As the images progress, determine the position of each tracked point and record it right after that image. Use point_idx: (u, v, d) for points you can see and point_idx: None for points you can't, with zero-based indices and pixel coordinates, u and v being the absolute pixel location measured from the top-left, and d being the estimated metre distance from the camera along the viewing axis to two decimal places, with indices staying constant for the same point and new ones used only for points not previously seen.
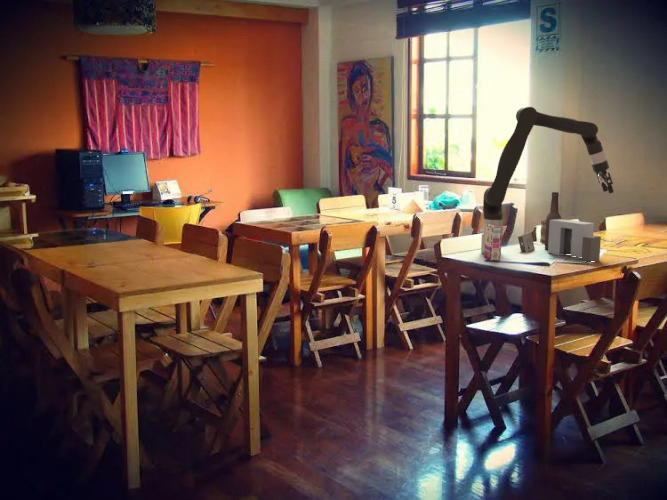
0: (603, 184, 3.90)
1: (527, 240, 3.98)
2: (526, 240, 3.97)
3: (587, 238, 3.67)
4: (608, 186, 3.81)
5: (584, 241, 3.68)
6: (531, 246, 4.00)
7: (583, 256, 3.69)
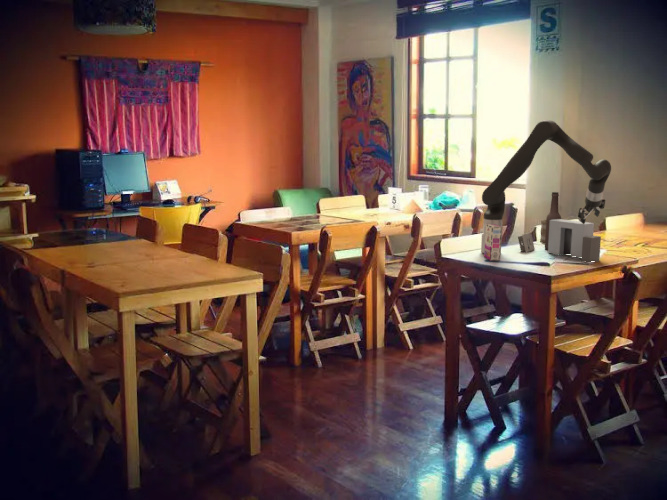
0: (596, 210, 3.77)
1: (527, 240, 3.98)
2: (526, 240, 3.97)
3: (587, 238, 3.67)
4: None
5: (584, 241, 3.68)
6: (531, 246, 4.00)
7: (583, 256, 3.69)
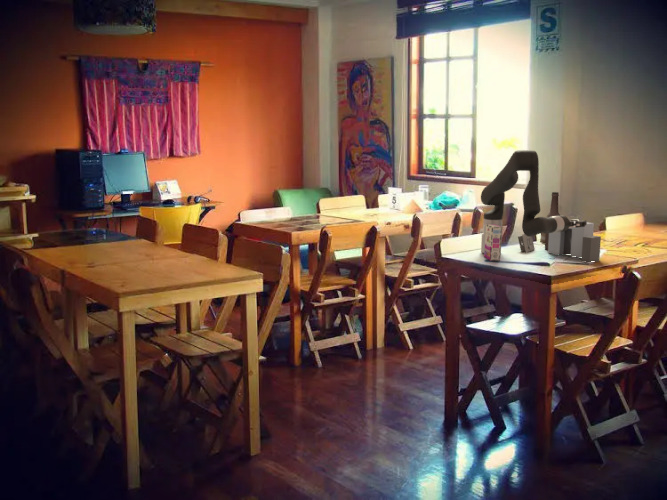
0: None
1: (527, 240, 3.98)
2: (526, 240, 3.97)
3: (587, 238, 3.67)
4: None
5: (584, 241, 3.68)
6: (531, 246, 4.00)
7: (583, 256, 3.69)
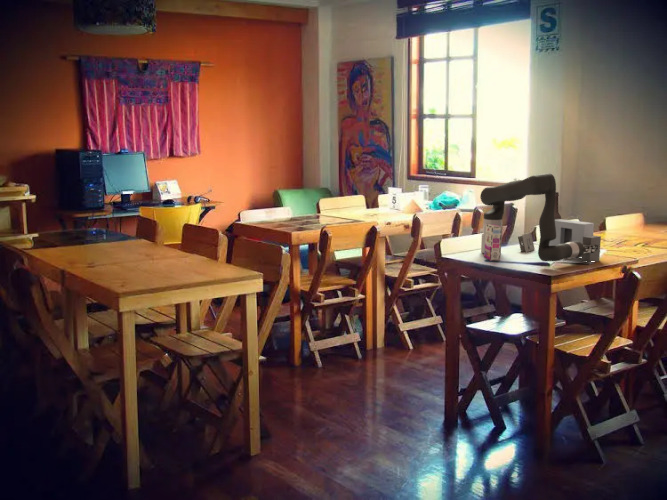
0: None
1: (527, 240, 3.98)
2: (526, 240, 3.97)
3: (587, 238, 3.67)
4: None
5: (584, 241, 3.68)
6: (531, 246, 4.00)
7: (583, 256, 3.69)
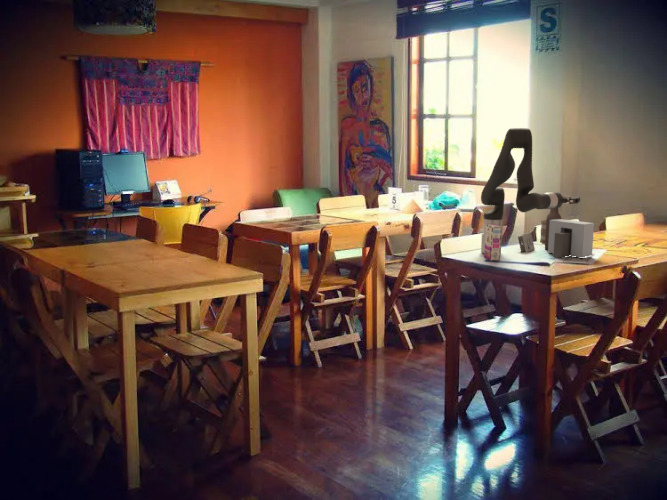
0: None
1: (527, 240, 3.98)
2: (526, 240, 3.97)
3: (559, 234, 3.79)
4: None
5: (556, 237, 3.81)
6: (531, 246, 4.00)
7: (555, 251, 3.82)
